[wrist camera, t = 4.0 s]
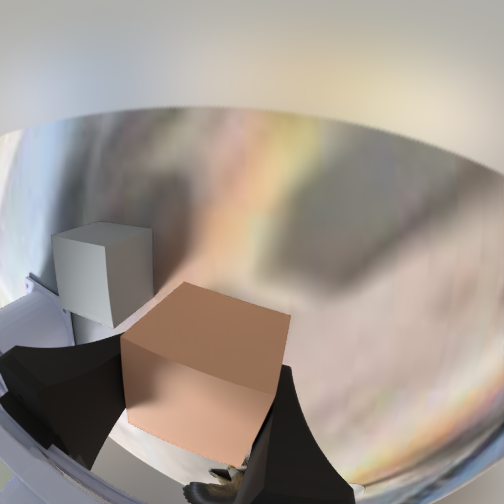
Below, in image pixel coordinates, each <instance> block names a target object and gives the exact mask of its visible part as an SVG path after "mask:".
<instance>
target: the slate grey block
mask: <svg viewBox="0 0 504 504" xmlns="http://www.w3.org/2000/svg"><path fill="white" fill-rule="evenodd" d="M51 240H52V251H53V260H54V267H55V275H56V281H57V287H58V293H59V298H60V303H61V307H62V308H64V309H66V310H69V311H71V312H73V313H75V314H78V315H80V316H82V317H85V318H87V319H89V320H92V321H94V322H97V323H99V324H102V325H104V326H107V327H110V328H112V329H114V328H116V327H117V326H118V325H119V324H121V323H122V322H123V321H124V320H125V319H127V318H128V317H129V316H130V315H132V314H133V313H134V312H136V311H137V310H138V309H139V308H141V307H142V306H143V305H144V304H146V303H147V302H148V301H149V300H151V299H152V298H153V297H154V288H153V229H152V228H144V227H137V226H130V225H122V224H115V223H108V222H100V221H99V222H95V223H92V224H88V225H84V226H81V227H77V228H74V229H71V230H67V231H64V232H61V233H57V234H54V235H51Z"/></svg>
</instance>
